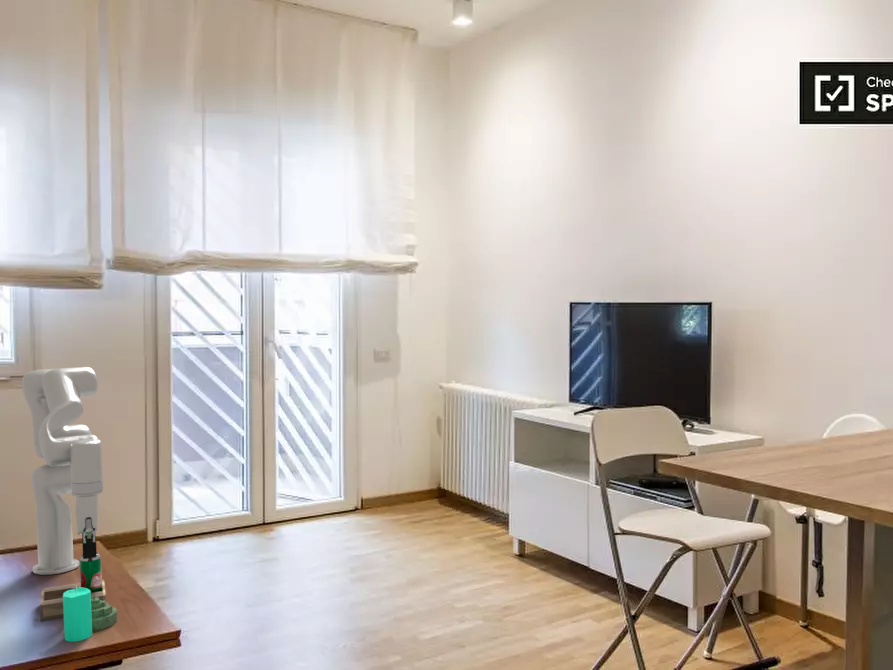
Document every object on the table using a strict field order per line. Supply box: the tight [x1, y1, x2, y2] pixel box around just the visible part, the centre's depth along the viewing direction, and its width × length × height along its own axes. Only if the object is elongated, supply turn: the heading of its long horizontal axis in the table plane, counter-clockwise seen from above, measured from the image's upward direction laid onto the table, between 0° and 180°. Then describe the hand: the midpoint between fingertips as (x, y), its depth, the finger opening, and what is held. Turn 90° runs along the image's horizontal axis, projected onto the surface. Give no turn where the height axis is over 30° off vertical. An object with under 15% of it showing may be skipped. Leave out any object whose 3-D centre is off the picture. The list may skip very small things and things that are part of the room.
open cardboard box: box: [39, 579, 107, 622], centre depth 209 cm, size 14×15×4 cm
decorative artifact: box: [91, 595, 118, 632], centre depth 198 cm, size 10×7×10 cm
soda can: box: [79, 552, 103, 593], centre depth 211 cm, size 5×5×12 cm
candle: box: [63, 586, 93, 642], centre depth 190 cm, size 6×6×12 cm
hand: (89, 552), depth 211 cm, fingers open, 9 cm apart
